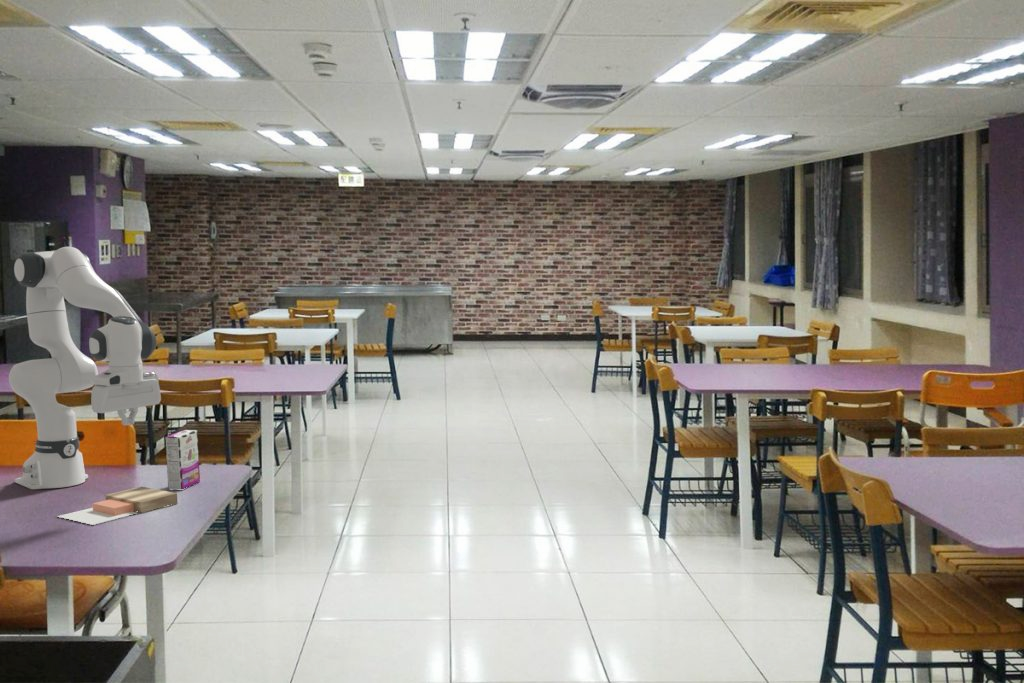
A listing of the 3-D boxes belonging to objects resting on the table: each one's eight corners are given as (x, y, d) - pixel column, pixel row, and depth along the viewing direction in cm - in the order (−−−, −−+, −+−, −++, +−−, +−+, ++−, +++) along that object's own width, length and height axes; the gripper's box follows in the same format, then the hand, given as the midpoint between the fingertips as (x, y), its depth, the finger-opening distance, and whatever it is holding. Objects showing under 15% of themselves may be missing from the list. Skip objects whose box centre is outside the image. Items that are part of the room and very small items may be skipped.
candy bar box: (185, 481, 323) (183, 429, 321) (200, 482, 322) (198, 430, 320) (166, 490, 312) (164, 436, 310) (182, 491, 311) (179, 436, 309)
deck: (105, 505, 294) (105, 495, 294) (141, 496, 304) (141, 486, 304) (141, 513, 285) (140, 502, 285) (177, 503, 295) (177, 493, 295)
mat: (56, 517, 282) (56, 516, 282) (102, 506, 294) (102, 505, 294) (92, 525, 273) (92, 524, 273) (138, 514, 285) (138, 512, 285)
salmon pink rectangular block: (92, 510, 288) (92, 503, 288) (111, 505, 293) (111, 498, 292) (115, 515, 282) (114, 508, 282) (134, 510, 287) (133, 503, 287)
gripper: (150, 370, 299) (152, 418, 300) (86, 378, 282) (89, 429, 284) (164, 372, 295) (166, 420, 297) (100, 380, 279) (103, 431, 280)
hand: (128, 424), depth 290 cm, fingers closed
